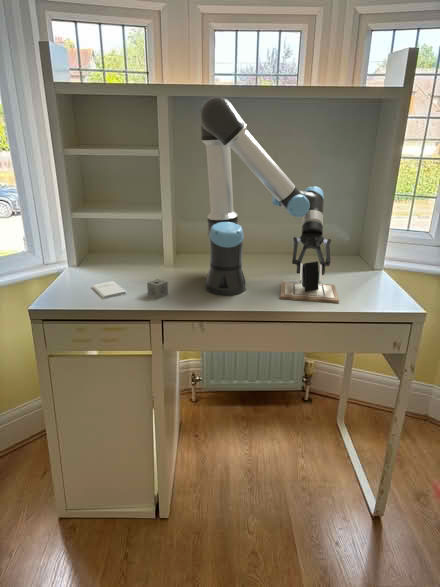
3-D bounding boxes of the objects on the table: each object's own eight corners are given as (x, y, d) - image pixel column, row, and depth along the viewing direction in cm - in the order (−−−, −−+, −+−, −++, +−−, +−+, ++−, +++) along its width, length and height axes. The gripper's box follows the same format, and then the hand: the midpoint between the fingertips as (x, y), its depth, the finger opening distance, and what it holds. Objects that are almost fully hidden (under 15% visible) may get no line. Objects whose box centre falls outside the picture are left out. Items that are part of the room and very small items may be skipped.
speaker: (321, 291, 147) (321, 262, 144) (305, 292, 147) (305, 263, 144) (316, 285, 154) (316, 257, 151) (300, 286, 154) (300, 258, 151)
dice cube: (147, 295, 148) (147, 282, 146) (157, 291, 151) (157, 278, 149) (158, 299, 145) (157, 285, 143) (168, 294, 149) (167, 281, 147)
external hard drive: (104, 300, 145) (92, 288, 154) (126, 295, 149) (113, 284, 158) (103, 296, 144) (92, 284, 154) (126, 291, 148) (113, 280, 158)
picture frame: (280, 298, 146) (280, 295, 146) (281, 283, 160) (281, 280, 160) (338, 303, 144) (339, 299, 143) (334, 287, 158) (334, 284, 157)
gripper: (336, 232, 157) (336, 288, 149) (286, 229, 160) (282, 284, 151) (340, 221, 150) (339, 279, 142) (287, 218, 153) (283, 275, 144)
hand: (310, 281), depth 147 cm, fingers closed on speaker, 6 cm apart
